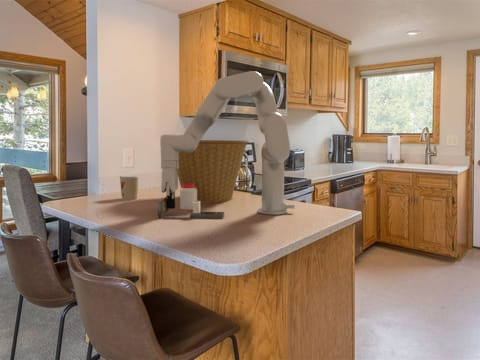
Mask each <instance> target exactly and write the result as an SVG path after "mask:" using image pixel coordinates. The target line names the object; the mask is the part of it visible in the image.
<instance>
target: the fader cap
mask: <svg viewBox="0 0 480 360" xmlns="http://www.w3.org/2000/svg"><path fill="white" fill-rule="evenodd" d="M200 211H201V203H200V201H194V202H193V209H192V212H193V213H200Z"/></svg>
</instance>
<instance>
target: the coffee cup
mask: <svg viewBox="0 0 480 360" xmlns="http://www.w3.org/2000/svg"><path fill="white" fill-rule="evenodd" d="M119 182H120V192H121V199H122V200H123V199H124V201H134V199H135V200H137V199H138V195H139V175H138V174H123V175H122V174H121V175H120V177H119Z"/></svg>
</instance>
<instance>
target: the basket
mask: <svg viewBox="0 0 480 360" xmlns="http://www.w3.org/2000/svg"><path fill="white" fill-rule="evenodd" d="M248 143H250V142H249V141H248V140H233V139H232V140H227V139H223V140H221V139H220V140H215V139H214V140H212V139H210V140H209V139H204V140H202V139H201V140H200V142H199V143H198V146H197V148H196V150H195V151H193V152H190V153H187V152H179V168H177V172H178V183H179V184H180V189H181V188H182V184H185V183H193V184H195V188H196V189H197V201H200V204H202V203H203V204H205V203H207V204H208V203H209V204H211V203H213V204H214V203H223V202H229V201H232V200H233V195H234V192H235V187H236V184H237V181H238V176H239V173H240V169H241V165H242V162H243V159H244V154H245V150H246V148H247V144H248Z"/></svg>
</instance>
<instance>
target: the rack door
mask: <svg viewBox="0 0 480 360" xmlns="http://www.w3.org/2000/svg"><path fill="white" fill-rule="evenodd" d="M160 200H161V211H162V216H163V215H165V214H166V213H167V212H169V211H170V209H167V197H166V196H165V197H163V198H161V199H160Z"/></svg>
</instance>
